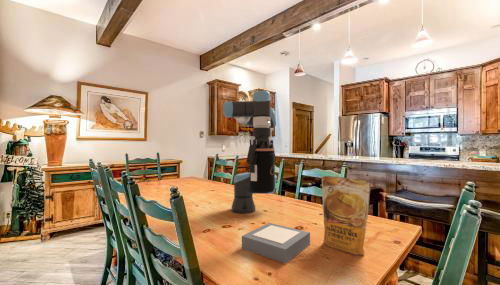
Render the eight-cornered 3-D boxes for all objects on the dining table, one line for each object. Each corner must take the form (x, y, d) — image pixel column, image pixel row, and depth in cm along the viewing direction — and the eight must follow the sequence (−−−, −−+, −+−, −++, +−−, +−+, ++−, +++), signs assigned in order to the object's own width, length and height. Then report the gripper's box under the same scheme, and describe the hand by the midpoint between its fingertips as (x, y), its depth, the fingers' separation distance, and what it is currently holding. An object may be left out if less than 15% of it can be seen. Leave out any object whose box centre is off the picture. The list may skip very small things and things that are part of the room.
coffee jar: (275, 193, 95) (275, 148, 96) (249, 193, 96) (248, 148, 96) (274, 188, 106) (273, 148, 106) (250, 188, 106) (250, 148, 107)
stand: (241, 248, 95) (241, 235, 95) (269, 233, 110) (269, 222, 110) (285, 263, 82) (285, 248, 82) (310, 244, 98) (309, 231, 98)
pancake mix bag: (325, 239, 104) (324, 174, 104) (372, 253, 90) (371, 179, 90) (317, 243, 99) (317, 176, 99) (365, 259, 85) (365, 181, 86)
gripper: (251, 125, 90) (251, 183, 90) (283, 128, 108) (284, 177, 107) (237, 126, 95) (237, 181, 94) (270, 129, 113) (270, 176, 112)
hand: (262, 179), depth 101 cm, fingers closed on coffee jar, 11 cm apart
